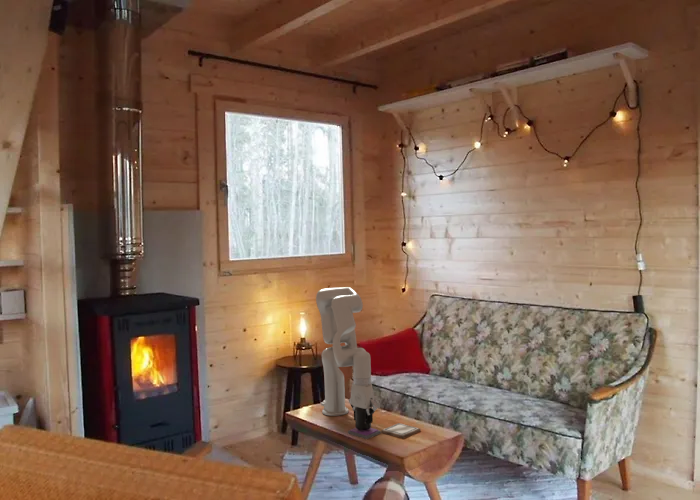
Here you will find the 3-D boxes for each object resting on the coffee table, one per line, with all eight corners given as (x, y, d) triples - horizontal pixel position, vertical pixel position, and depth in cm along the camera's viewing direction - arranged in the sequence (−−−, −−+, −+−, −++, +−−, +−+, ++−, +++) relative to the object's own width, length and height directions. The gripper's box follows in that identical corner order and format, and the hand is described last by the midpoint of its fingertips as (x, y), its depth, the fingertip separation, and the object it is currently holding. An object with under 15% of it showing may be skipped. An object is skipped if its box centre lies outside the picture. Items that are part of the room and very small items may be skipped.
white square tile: (381, 432, 270) (381, 429, 270) (398, 425, 279) (398, 422, 279) (403, 438, 262) (402, 435, 262) (420, 430, 270) (420, 428, 270)
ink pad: (347, 433, 270) (347, 429, 270) (361, 428, 276) (361, 424, 276) (366, 439, 262) (366, 435, 262) (380, 433, 269) (380, 429, 269)
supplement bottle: (369, 430, 266) (369, 403, 265) (354, 430, 267) (353, 402, 267) (372, 425, 273) (371, 398, 272) (357, 424, 274) (356, 397, 273)
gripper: (341, 379, 272) (342, 419, 273) (371, 386, 260) (372, 428, 261) (353, 375, 277) (354, 414, 278) (383, 382, 265) (384, 423, 267)
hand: (363, 420), depth 270 cm, fingers closed on supplement bottle, 6 cm apart
